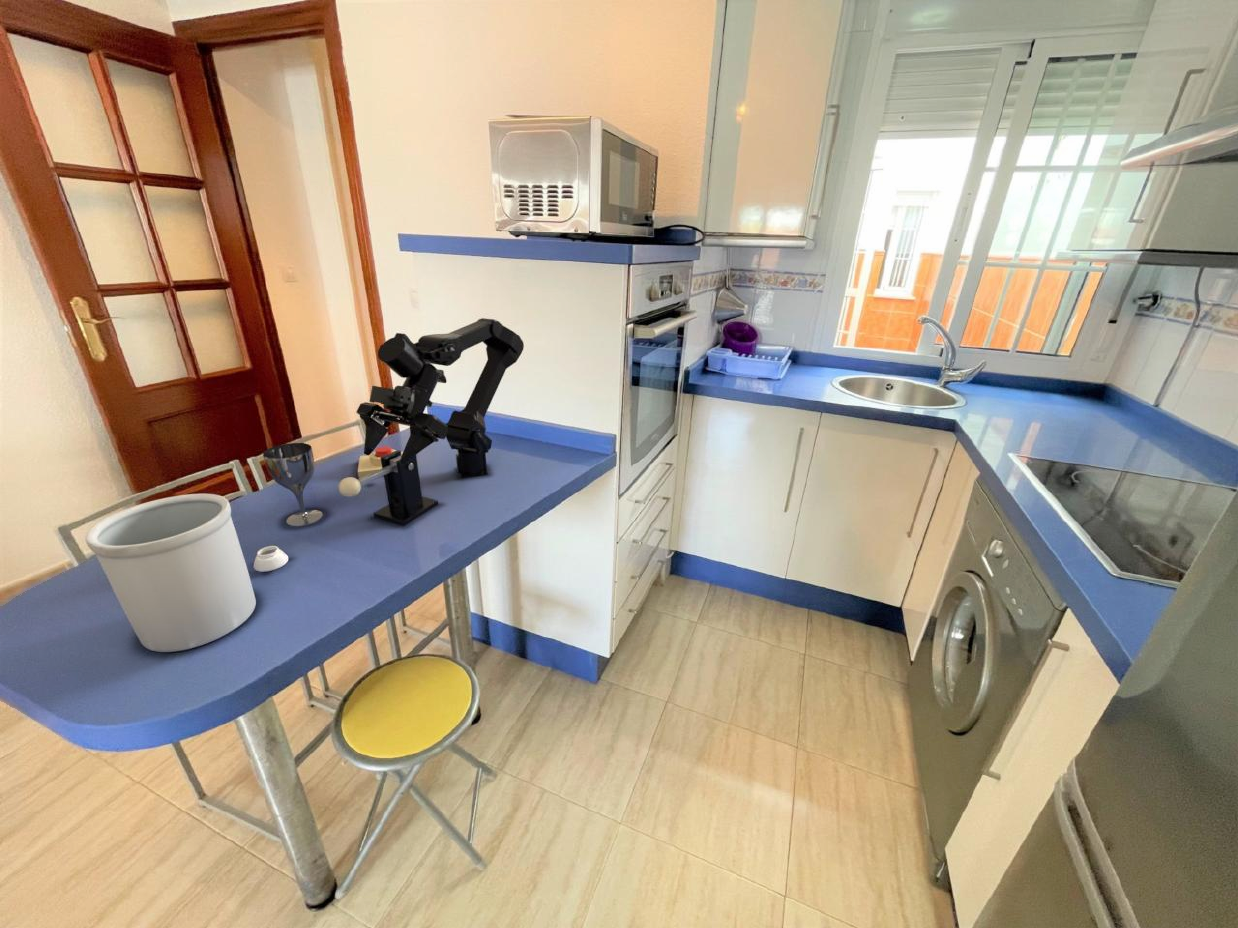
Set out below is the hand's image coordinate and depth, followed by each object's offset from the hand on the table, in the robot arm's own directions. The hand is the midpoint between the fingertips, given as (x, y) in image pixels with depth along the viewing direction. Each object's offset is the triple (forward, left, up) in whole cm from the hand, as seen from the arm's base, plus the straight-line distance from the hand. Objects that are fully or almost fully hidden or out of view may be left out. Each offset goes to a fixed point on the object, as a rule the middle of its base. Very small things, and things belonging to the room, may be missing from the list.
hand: (383, 458), depth 97 cm
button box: (+2, -28, -14) cm, 31 cm away
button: (+2, -28, -10) cm, 30 cm away
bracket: (-3, -2, -14) cm, 14 cm away
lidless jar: (+20, +10, -14) cm, 26 cm away
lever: (+2, +2, -4) cm, 5 cm away
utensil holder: (+27, +22, -14) cm, 37 cm away
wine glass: (+17, -6, -14) cm, 22 cm away
